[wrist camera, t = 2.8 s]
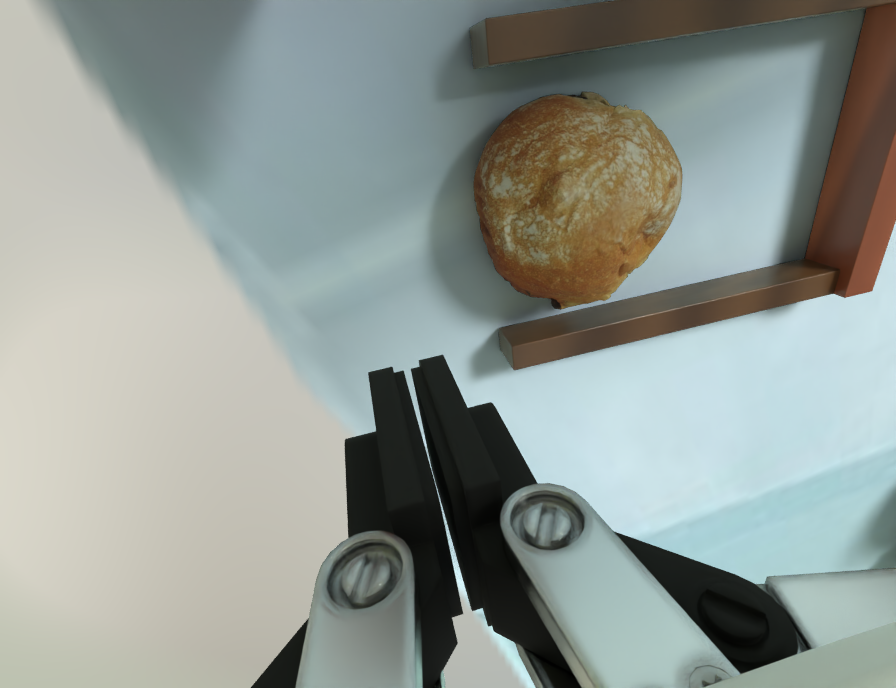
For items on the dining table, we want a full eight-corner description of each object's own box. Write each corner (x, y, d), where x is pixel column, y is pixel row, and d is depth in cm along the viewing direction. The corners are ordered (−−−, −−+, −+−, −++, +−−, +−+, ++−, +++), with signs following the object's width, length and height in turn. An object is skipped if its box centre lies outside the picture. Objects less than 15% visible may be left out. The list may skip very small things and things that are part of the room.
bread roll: (616, 128, 27) (719, 45, 19) (632, 301, 28) (739, 289, 20) (452, 134, 25) (493, 46, 18) (473, 319, 26) (521, 314, 18)
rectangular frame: (909, -36, 23) (988, -55, 20) (824, 274, 31) (872, 291, 28) (469, 27, 20) (490, 15, 18) (500, 350, 28) (517, 377, 26)
